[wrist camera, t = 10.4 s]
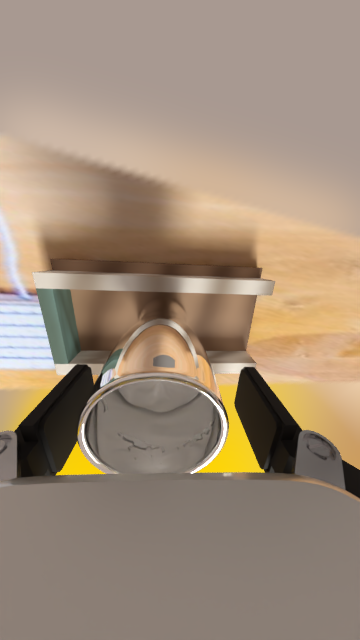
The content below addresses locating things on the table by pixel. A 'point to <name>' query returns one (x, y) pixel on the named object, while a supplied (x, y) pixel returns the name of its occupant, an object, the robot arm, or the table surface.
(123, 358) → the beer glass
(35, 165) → the table surface
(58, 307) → the track board
